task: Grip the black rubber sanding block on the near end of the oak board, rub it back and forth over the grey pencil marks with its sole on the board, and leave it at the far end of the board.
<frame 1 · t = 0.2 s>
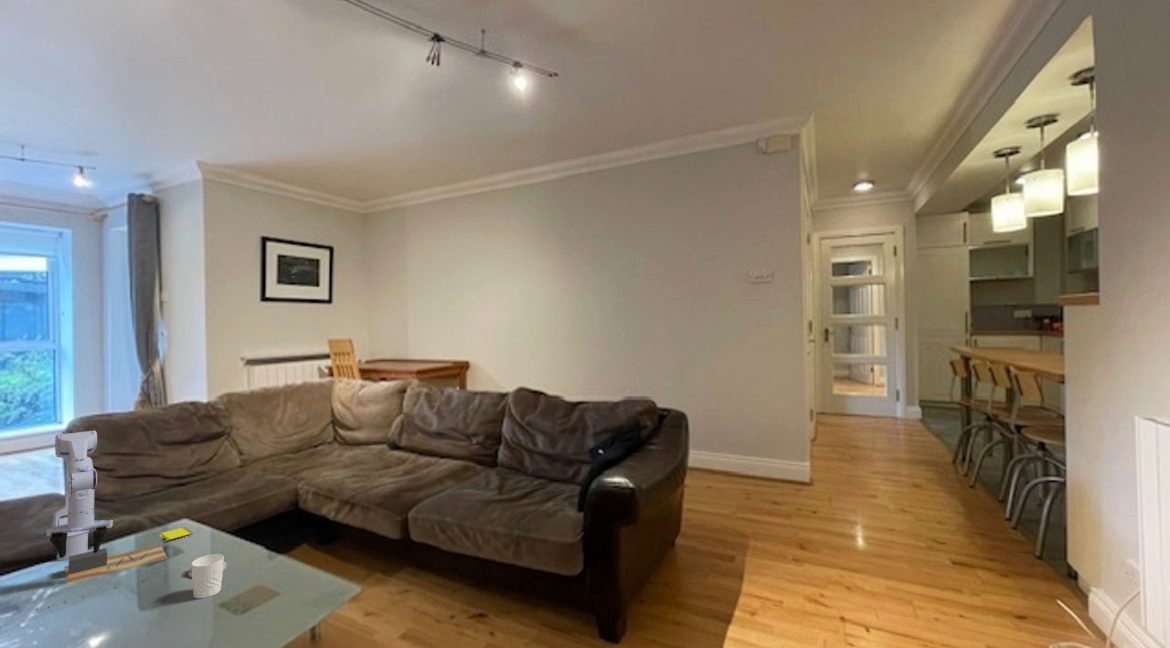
hand: (79, 554, 153), 10 cm above the table, tool pointing down, fingers open, 7 cm apart
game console: (160, 540, 186), on the table
white cup: (207, 593, 150), on the table
sanding block: (87, 569, 160), point 1 cm above the table, touching oak board
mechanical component: (207, 572, 163), on the table
oak board: (117, 566, 165), on the table
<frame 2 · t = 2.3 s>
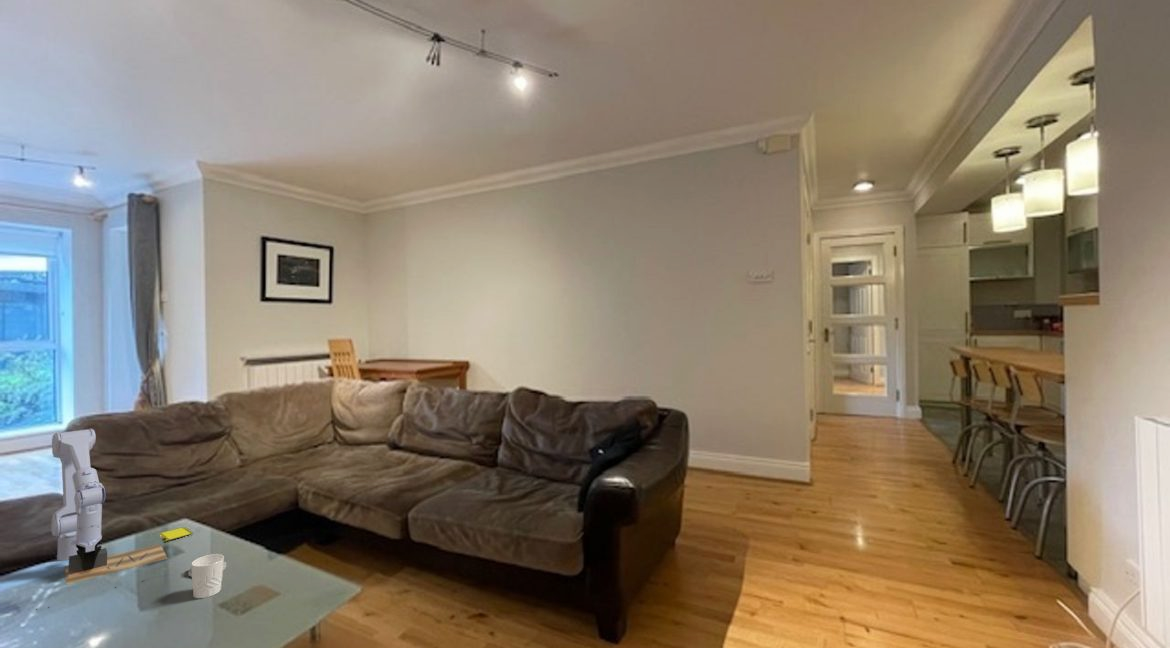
hand: (88, 566, 160), 2 cm above the table, tool pointing down, fingers closed on sanding block, 5 cm apart
sanding block: (87, 569, 160), point 1 cm above the table, touching gripper, oak board
everything else where it was.
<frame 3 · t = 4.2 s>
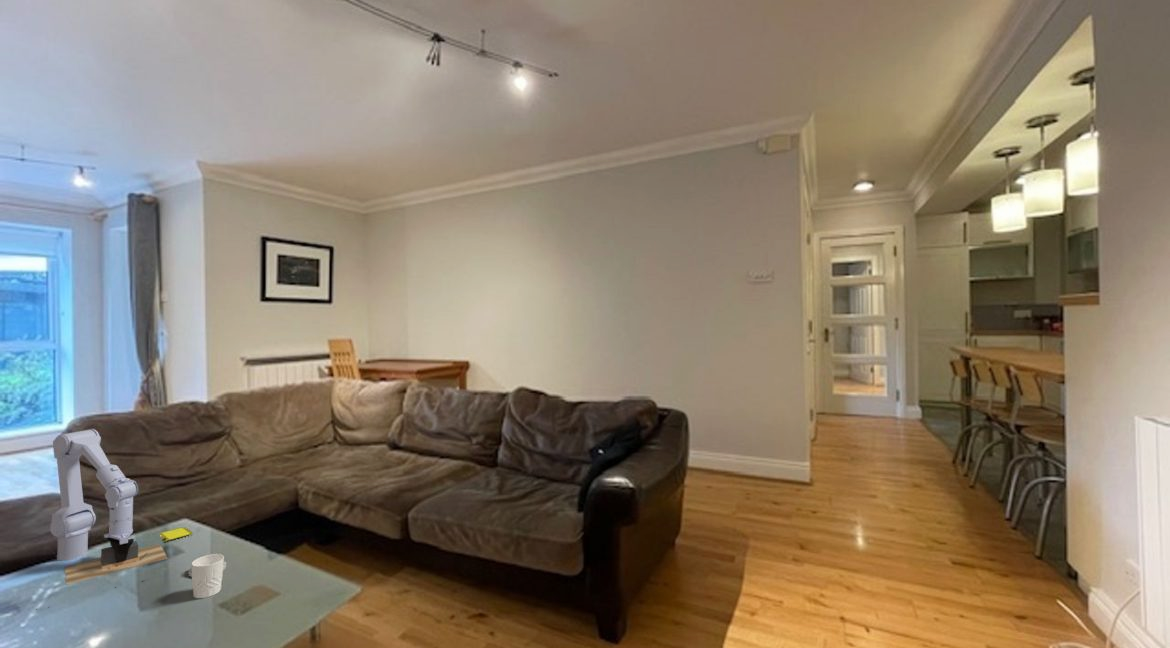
hand: (120, 558, 165), 2 cm above the table, tool pointing down, fingers closed on sanding block, 5 cm apart
sanding block: (119, 561, 165), point 1 cm above the table, touching gripper
everything else where it was.
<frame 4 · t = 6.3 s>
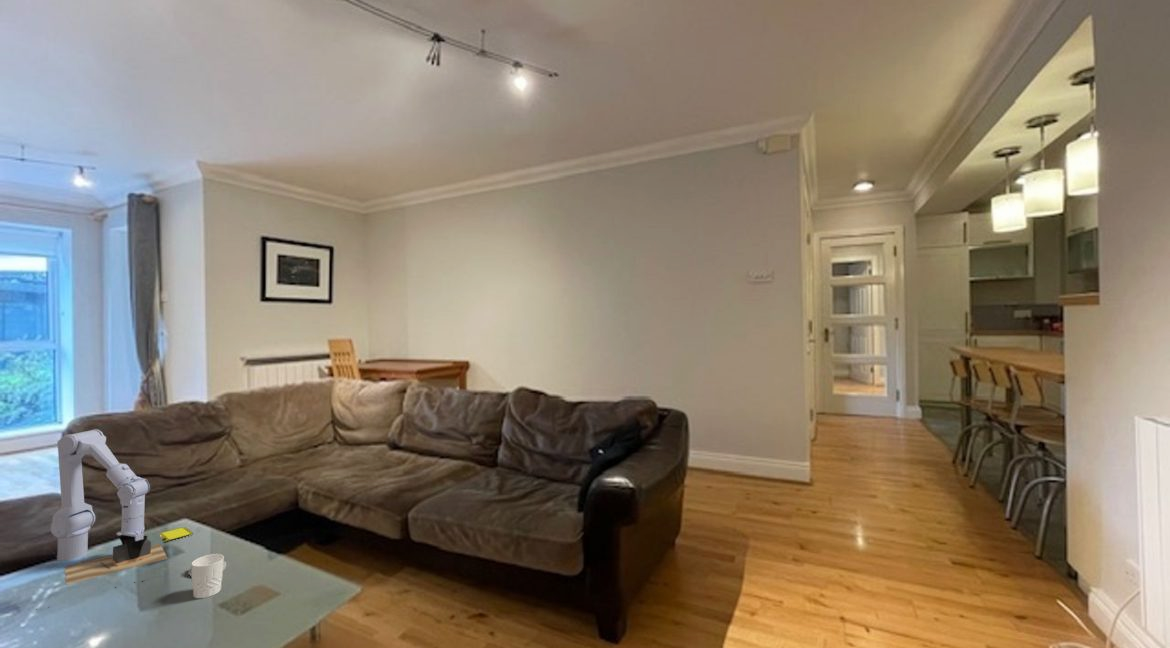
hand: (131, 556, 168), 2 cm above the table, tool pointing down, fingers closed on sanding block, 5 cm apart
sanding block: (131, 558, 168), point 1 cm above the table, touching gripper
everything else where it was.
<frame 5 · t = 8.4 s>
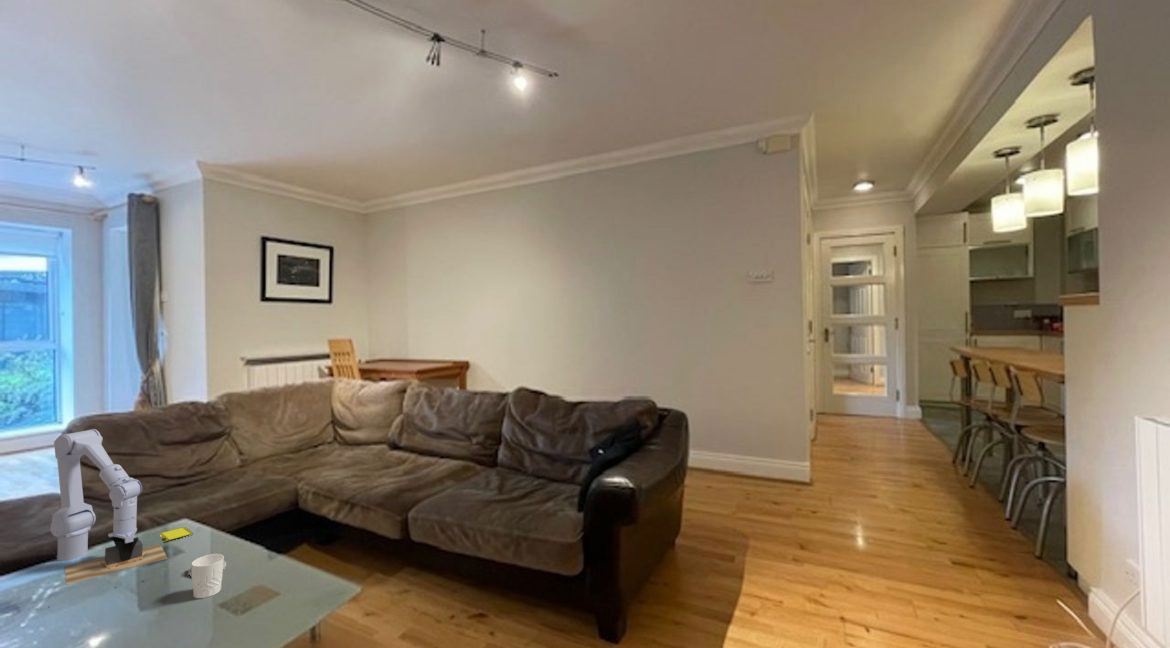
hand: (124, 557, 166), 2 cm above the table, tool pointing down, fingers closed on sanding block, 5 cm apart
sanding block: (123, 560, 166), point 1 cm above the table, touching gripper
everything else where it was.
when the fingers open (2 cm above the table, at t = 10.2 s): sanding block stays where it is, resting on oak board.
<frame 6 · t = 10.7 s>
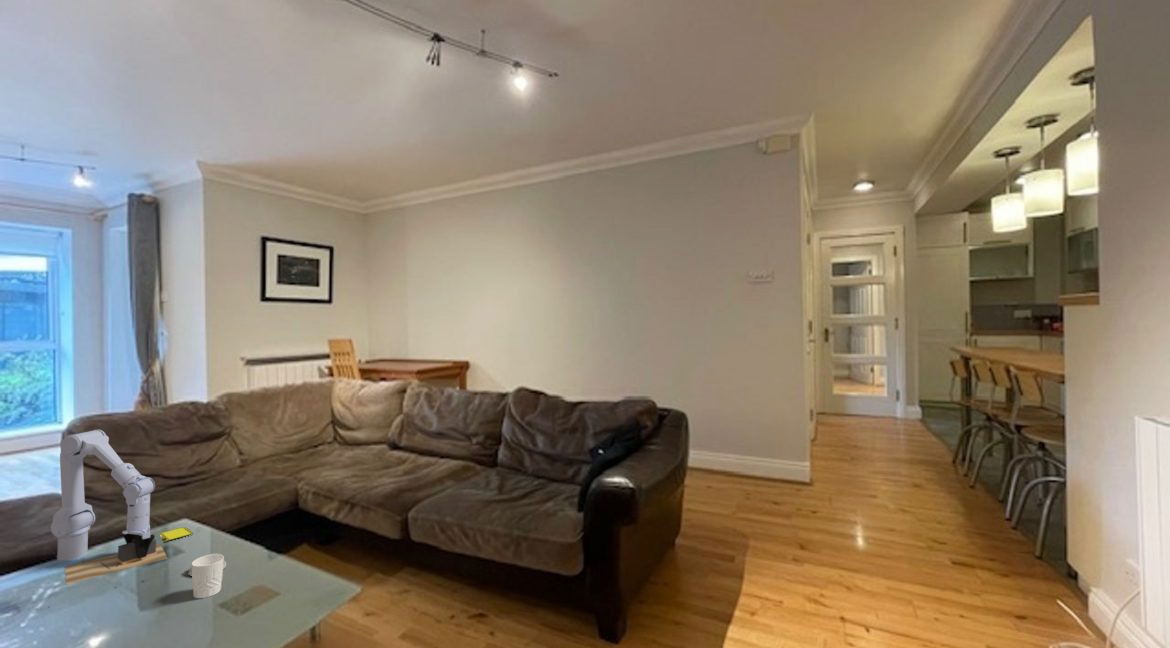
hand: (137, 554, 169), 2 cm above the table, tool pointing down, fingers open, 7 cm apart
sanding block: (137, 557, 169), point 1 cm above the table, touching oak board
everything else where it was.
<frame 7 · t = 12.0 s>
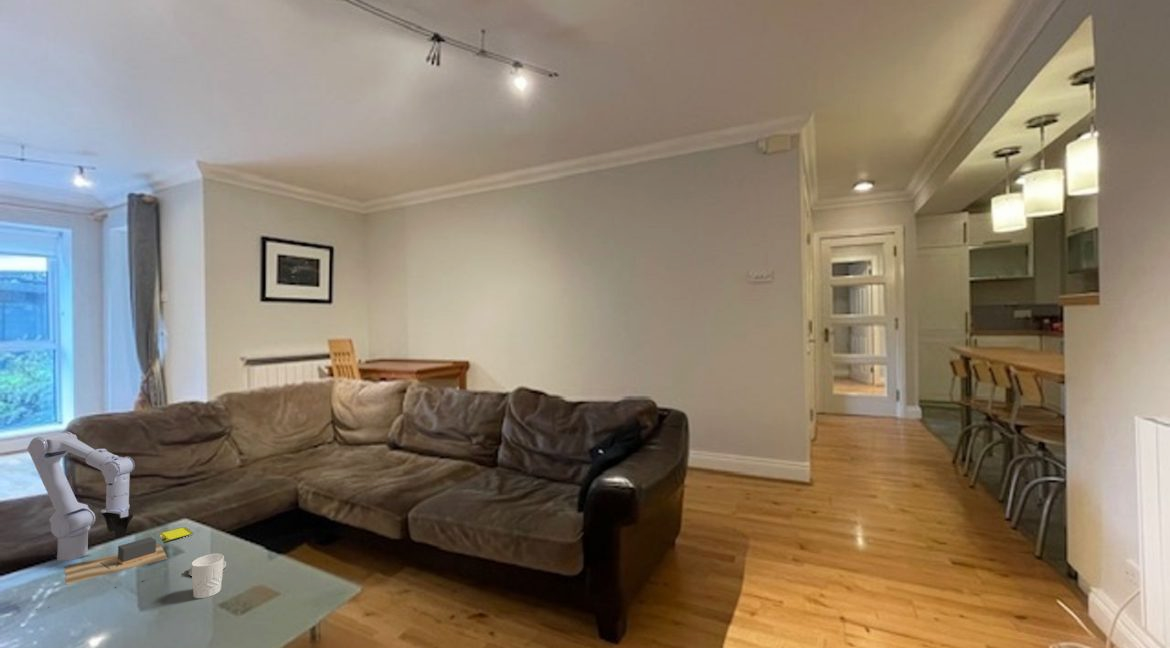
hand: (116, 533, 168), 9 cm above the table, tool pointing down, fingers open, 7 cm apart
nothing on the table moved.
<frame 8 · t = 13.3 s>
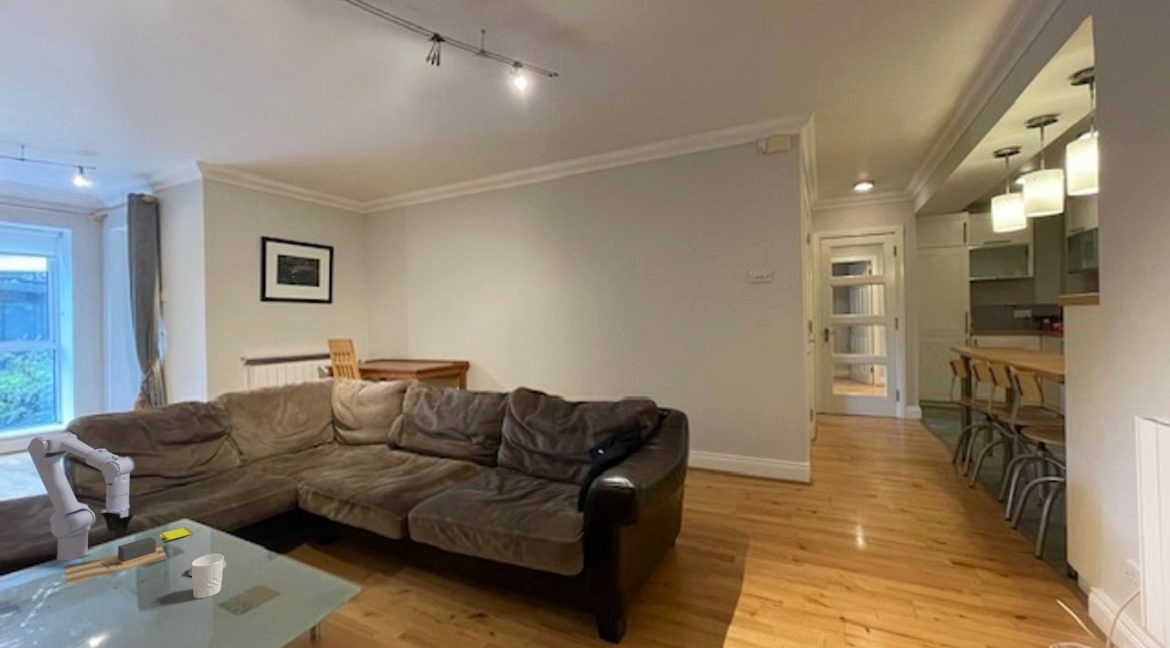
hand: (116, 533, 168), 9 cm above the table, tool pointing down, fingers open, 7 cm apart
nothing on the table moved.
at the end: sanding block inside the target area on the oak board (0.6 cm from its centre), point 1.2 cm above the oak board's base; sanding block tilted 0°; the gripper is holding nothing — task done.
